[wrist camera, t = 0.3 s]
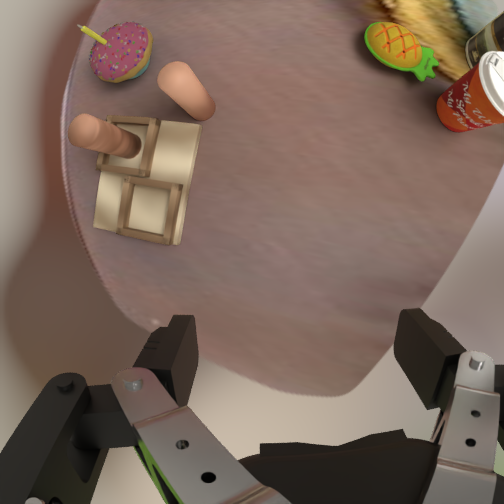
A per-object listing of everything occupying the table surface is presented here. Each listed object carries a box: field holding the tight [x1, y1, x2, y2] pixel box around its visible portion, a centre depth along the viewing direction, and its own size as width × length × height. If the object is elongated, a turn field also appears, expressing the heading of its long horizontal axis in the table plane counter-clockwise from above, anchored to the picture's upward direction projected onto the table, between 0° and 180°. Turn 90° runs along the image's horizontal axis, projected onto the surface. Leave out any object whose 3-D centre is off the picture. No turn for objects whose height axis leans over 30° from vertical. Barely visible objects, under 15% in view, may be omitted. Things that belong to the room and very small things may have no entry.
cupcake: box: [77, 21, 153, 83], centre depth 30 cm, size 9×8×12 cm
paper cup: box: [436, 51, 504, 132], centre depth 26 cm, size 8×8×14 cm
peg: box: [157, 61, 215, 121], centre depth 31 cm, size 3×3×11 cm
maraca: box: [364, 22, 439, 82], centre depth 30 cm, size 7×10×5 cm
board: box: [68, 114, 202, 245], centre depth 32 cm, size 14×12×12 cm
